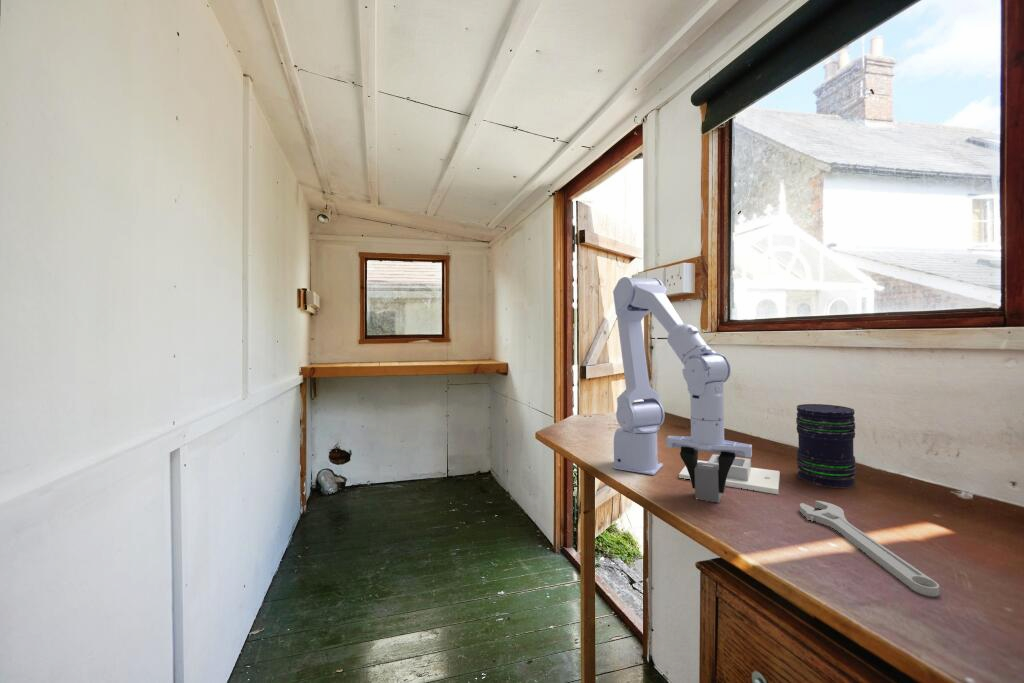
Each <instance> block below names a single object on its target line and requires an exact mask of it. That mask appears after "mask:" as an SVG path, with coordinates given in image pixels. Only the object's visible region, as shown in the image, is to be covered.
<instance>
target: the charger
mask: <svg viewBox="0 0 1024 683" xmlns="http://www.w3.org/2000/svg"><path fill="white" fill-rule="evenodd" d="M722 494H723V493H719V465H718V464H710V463H703V462H698V463H697V465H696V466H695V489H694V499H695V498H698V499H702V500H707V501H706V502H708V501H712V502H711V503H713V502H717V503H716V504H718V503H719V504H720V501H721V499H722V497H721V496H722ZM720 498H721V499H720ZM702 500H701V501H702Z"/></svg>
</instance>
